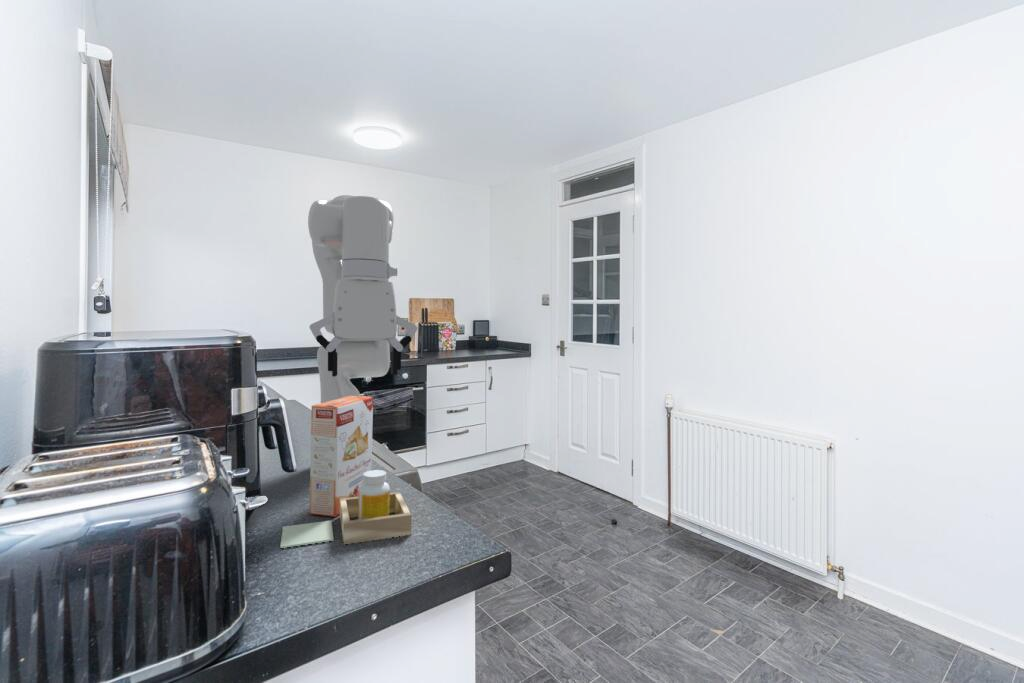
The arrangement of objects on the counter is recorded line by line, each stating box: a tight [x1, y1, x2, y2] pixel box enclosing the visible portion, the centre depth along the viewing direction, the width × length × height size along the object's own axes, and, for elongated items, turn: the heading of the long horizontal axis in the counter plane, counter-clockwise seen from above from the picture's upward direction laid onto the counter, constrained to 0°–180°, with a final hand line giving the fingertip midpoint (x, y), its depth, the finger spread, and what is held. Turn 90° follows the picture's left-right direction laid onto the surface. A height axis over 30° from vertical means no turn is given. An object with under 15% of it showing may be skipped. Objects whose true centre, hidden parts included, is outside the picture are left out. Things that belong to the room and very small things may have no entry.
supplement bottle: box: [357, 469, 391, 520], centre depth 86 cm, size 5×5×10 cm
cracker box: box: [309, 395, 374, 518], centre depth 96 cm, size 14×6×21 cm, turn 168°
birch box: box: [339, 491, 412, 546], centre depth 86 cm, size 12×11×4 cm
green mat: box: [279, 520, 334, 549], centre depth 82 cm, size 8×8×1 cm
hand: (364, 375), depth 81 cm, fingers open, 9 cm apart
